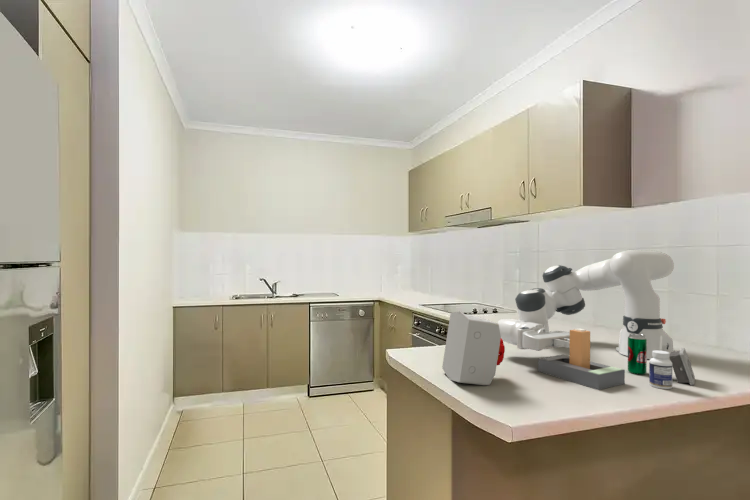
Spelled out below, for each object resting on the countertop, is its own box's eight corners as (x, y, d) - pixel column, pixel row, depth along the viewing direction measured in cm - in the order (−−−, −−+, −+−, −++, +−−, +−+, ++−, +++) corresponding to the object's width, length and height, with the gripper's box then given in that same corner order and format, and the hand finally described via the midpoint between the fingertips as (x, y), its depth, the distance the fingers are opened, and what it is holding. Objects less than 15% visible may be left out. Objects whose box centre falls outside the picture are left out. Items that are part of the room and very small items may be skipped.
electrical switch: (694, 386, 118) (690, 353, 119) (672, 384, 121) (668, 352, 122) (695, 379, 125) (691, 347, 126) (674, 377, 129) (670, 347, 129)
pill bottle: (650, 382, 121) (650, 348, 122) (673, 386, 118) (673, 351, 118) (648, 386, 117) (648, 351, 117) (671, 390, 114) (671, 355, 114)
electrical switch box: (508, 393, 117) (519, 322, 118) (458, 387, 115) (469, 314, 115) (486, 377, 131) (495, 314, 132) (441, 372, 129) (451, 308, 130)
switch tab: (577, 370, 128) (578, 327, 128) (590, 374, 125) (590, 330, 125) (569, 372, 126) (569, 328, 126) (581, 375, 123) (581, 331, 123)
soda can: (639, 376, 128) (640, 336, 128) (623, 371, 132) (624, 333, 132) (650, 374, 130) (650, 335, 130) (634, 370, 135) (634, 332, 135)
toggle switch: (563, 366, 137) (563, 354, 137) (624, 383, 120) (624, 369, 120) (538, 371, 131) (538, 358, 131) (598, 389, 114) (598, 374, 114)
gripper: (556, 343, 144) (594, 351, 132) (513, 348, 135) (550, 358, 122) (556, 324, 144) (594, 331, 132) (514, 329, 135) (550, 337, 122)
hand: (572, 344), depth 127 cm, fingers closed, pressing on switch tab
